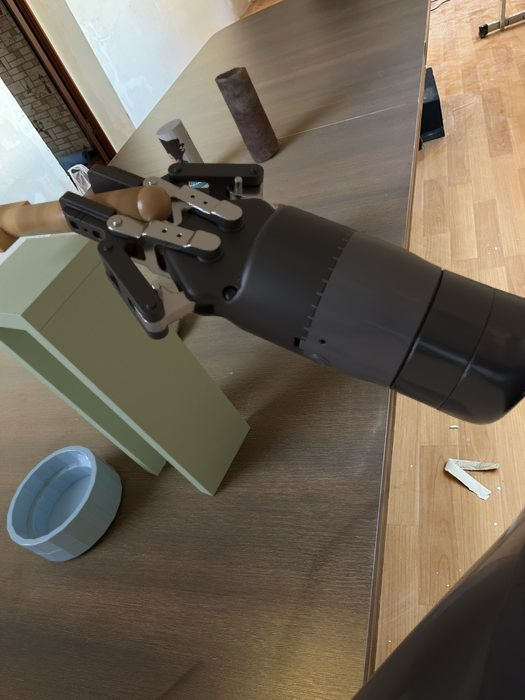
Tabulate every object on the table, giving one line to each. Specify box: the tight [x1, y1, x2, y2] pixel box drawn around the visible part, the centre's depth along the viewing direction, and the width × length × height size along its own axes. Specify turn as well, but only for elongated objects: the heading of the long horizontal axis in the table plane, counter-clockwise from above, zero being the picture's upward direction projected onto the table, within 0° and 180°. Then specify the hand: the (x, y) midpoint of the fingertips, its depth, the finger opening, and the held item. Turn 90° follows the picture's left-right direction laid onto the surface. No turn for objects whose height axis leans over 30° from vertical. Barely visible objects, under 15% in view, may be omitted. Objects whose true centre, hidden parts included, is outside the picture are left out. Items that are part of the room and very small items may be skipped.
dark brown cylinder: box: [214, 66, 280, 164], centre depth 113 cm, size 8×7×20 cm
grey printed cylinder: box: [155, 118, 207, 188], centre depth 121 cm, size 7×7×15 cm
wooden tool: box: [0, 185, 172, 254], centre depth 35 cm, size 23×4×2 cm, turn 61°
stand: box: [0, 233, 251, 497], centre depth 55 cm, size 10×12×32 cm
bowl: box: [6, 444, 123, 562], centre depth 65 cm, size 14×14×6 cm
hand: (80, 193), depth 31 cm, fingers closed on wooden tool, 2 cm apart
